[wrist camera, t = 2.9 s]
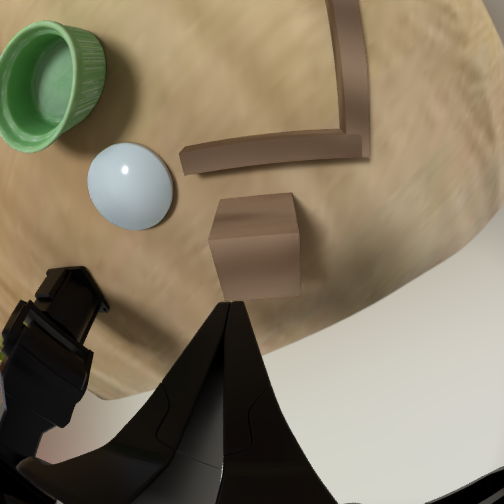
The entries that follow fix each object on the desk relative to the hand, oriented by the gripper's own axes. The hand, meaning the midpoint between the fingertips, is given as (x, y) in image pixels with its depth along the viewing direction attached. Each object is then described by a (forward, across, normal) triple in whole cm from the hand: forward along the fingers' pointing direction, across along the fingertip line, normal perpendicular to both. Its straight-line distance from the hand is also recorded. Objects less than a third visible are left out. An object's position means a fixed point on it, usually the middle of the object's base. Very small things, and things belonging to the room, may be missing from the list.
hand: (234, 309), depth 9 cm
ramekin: (+12, +12, -11) cm, 20 cm away
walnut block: (+11, 0, +4) cm, 12 cm away
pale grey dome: (+11, +9, -1) cm, 14 cm away
